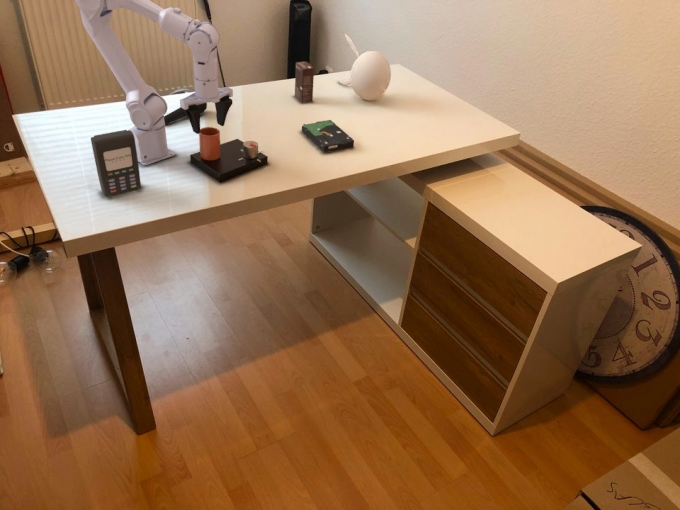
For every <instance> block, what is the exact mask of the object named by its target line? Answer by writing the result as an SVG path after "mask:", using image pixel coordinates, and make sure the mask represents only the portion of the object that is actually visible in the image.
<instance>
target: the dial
mask: <svg viewBox="0 0 680 510" xmlns="http://www.w3.org/2000/svg"><path fill="white" fill-rule="evenodd" d="M243 142H244V143H243V156H244V157H245V158H247V159H255V158H257V157H258V151H259V143H258V142H257V141H255V140H245V141H243Z"/></svg>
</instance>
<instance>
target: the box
mask: <svg viewBox="0 0 680 510" xmlns="http://www.w3.org/2000/svg"><path fill="white" fill-rule="evenodd" d="M314 75H315V67H313V66H312V64H311V63H309V62H308V61H298V62H297V61H296V62H295V75H294V97H295V98H296V99H297V100H298V101H299V102H300V103H301V104H308V103H312V102H313V98H314V96H313V95H314V77H315V76H314Z"/></svg>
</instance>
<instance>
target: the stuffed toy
mask: <svg viewBox="0 0 680 510" xmlns="http://www.w3.org/2000/svg"><path fill="white" fill-rule="evenodd" d="M344 36H345V40H346V42H347V43H348V45H349V47H350V48H351V51H352V52H353V54H354V55H355V56H356V59H355V60H354V62H353V64H352V66H351V70H350V78H347V79H343V80H341V81H340V82H339V84H341V85H343V86H350V85H351V88H352V90H353V92H354V93H355V95H356V96H357V97H358V98H360V99H362V100H364V101H374V100H377V99H379V98H380V97H382V96H383V95H384V94H385V93H386V91H387V90H388V88H389V85H390V82H391V78H392V77H391V76H392V69H391V66H390V63H389V60H388V59H387V57H386V56H385V55H383V54H382V53H381V52H379V51H376V50H368V51H364V52H363V53H361V54H360V53H359V51H358V48H357V47H356V45H355V43H354V41H353V40H352V38H351V37H350V36H349V35H348V34H346V33H344Z"/></svg>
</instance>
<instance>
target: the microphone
mask: <svg viewBox="0 0 680 510" xmlns="http://www.w3.org/2000/svg"><path fill="white" fill-rule="evenodd" d="M196 107H198V109H199V110H200V111H202V113H201V115H202V114H203V113H205V111H206V110H207V108H208V102H207V103H203V104H199V105H196ZM186 117H187V115H186V113H185V112H184V110H183V109H182V108H181V107H180V106H179V107H178V108H176V109H174V110H173V111H171V112H170V113H166V115H164V121H165V126H166V125H169V124H171V123H173V122H176V121H178V120H180V119H183V118H186Z"/></svg>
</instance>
